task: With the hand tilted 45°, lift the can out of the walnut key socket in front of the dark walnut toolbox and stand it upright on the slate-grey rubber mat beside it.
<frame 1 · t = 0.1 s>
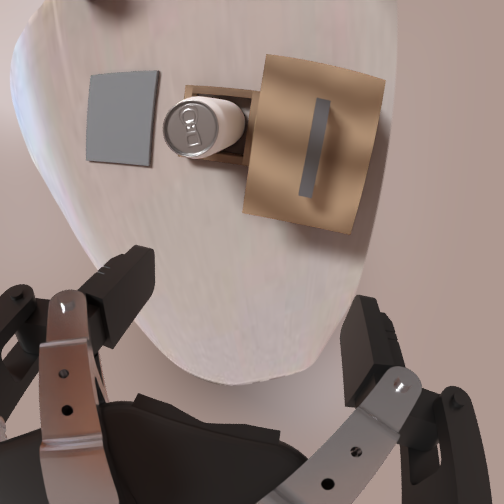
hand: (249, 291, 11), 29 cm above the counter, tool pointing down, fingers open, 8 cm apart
toolbox: (221, 123, 36), on the counter
mat: (119, 117, 37), on the counter
can: (222, 123, 36), resting in toolbox
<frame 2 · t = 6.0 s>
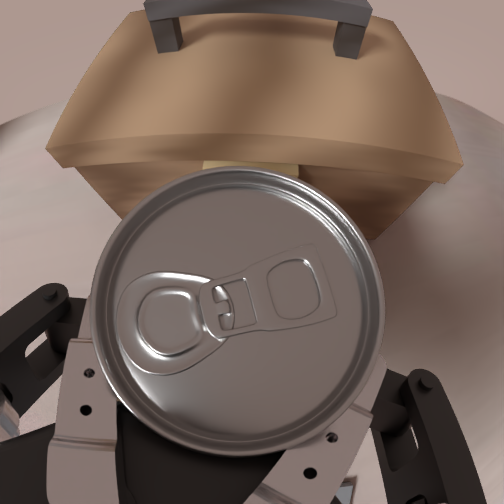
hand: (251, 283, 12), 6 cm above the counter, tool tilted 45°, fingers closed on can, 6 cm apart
toolbox: (246, 331, 16), on the counter
can: (246, 331, 17), resting in toolbox, touching gripper
when the fingers open (7 cm above the counter, at t = 11.9 s): can drops 1 cm, resting on mat.
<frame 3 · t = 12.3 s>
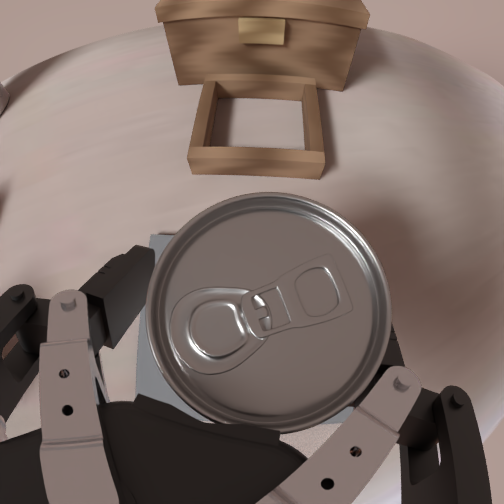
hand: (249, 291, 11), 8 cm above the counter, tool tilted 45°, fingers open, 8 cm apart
toolbox: (258, 128, 23), on the counter
mat: (247, 331, 18), on the counter
can: (263, 331, 18), resting on mat, touching gripper
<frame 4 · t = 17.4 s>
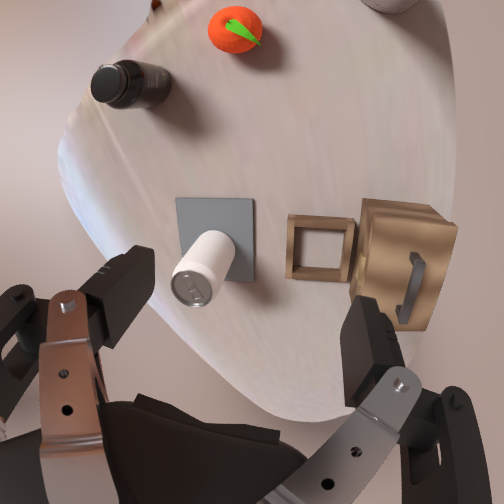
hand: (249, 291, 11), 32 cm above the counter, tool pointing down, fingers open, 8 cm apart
toolbox: (318, 245, 45), on the counter
clementine: (243, 38, 32), on the counter
mat: (216, 240, 47), on the counter
supplement bottle: (152, 86, 37), on the counter
can: (216, 247, 47), resting on mat
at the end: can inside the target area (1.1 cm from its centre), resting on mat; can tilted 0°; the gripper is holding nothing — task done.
